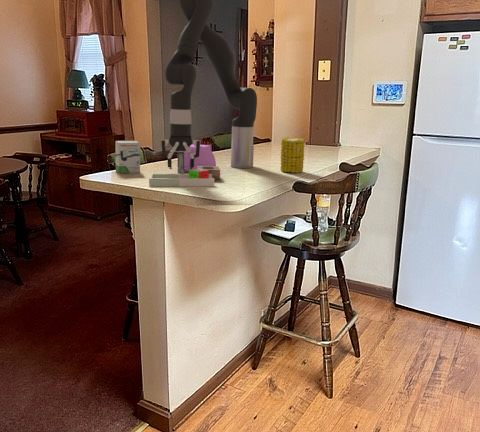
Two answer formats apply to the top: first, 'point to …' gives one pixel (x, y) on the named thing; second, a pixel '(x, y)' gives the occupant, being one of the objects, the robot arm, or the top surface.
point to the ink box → (127, 156)
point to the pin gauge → (180, 162)
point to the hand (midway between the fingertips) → (180, 168)
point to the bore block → (212, 171)
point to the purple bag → (204, 157)
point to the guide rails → (195, 180)
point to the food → (292, 155)
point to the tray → (163, 180)
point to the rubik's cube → (198, 173)
